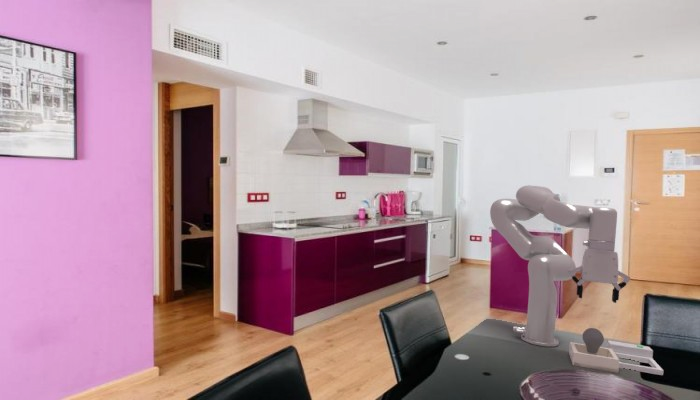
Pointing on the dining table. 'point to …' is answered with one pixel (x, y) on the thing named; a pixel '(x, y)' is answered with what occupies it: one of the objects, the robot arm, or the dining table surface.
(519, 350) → the dining table surface
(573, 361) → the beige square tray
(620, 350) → the tester cradle
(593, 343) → the light bulb
